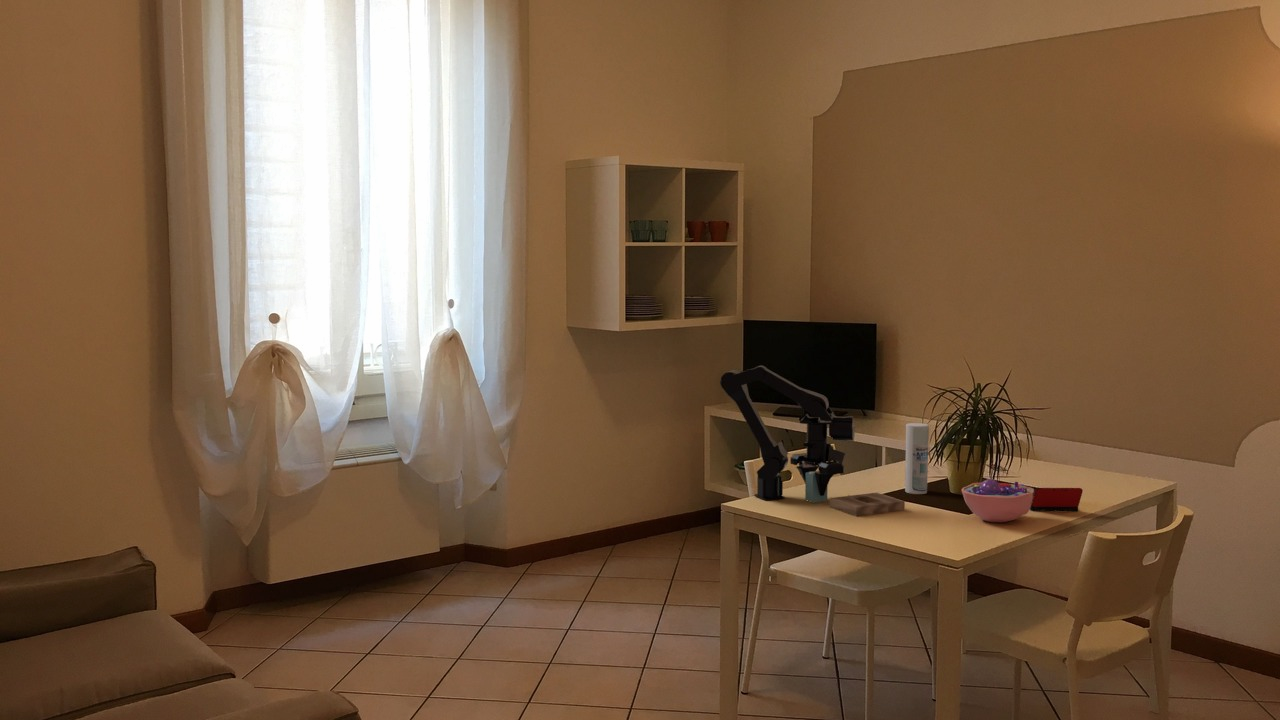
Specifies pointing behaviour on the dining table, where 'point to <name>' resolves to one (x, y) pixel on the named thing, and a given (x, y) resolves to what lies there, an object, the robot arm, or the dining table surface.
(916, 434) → the spray can
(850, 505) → the socket block
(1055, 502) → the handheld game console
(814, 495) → the keyed peg
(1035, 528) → the dining table surface
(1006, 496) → the cell model
